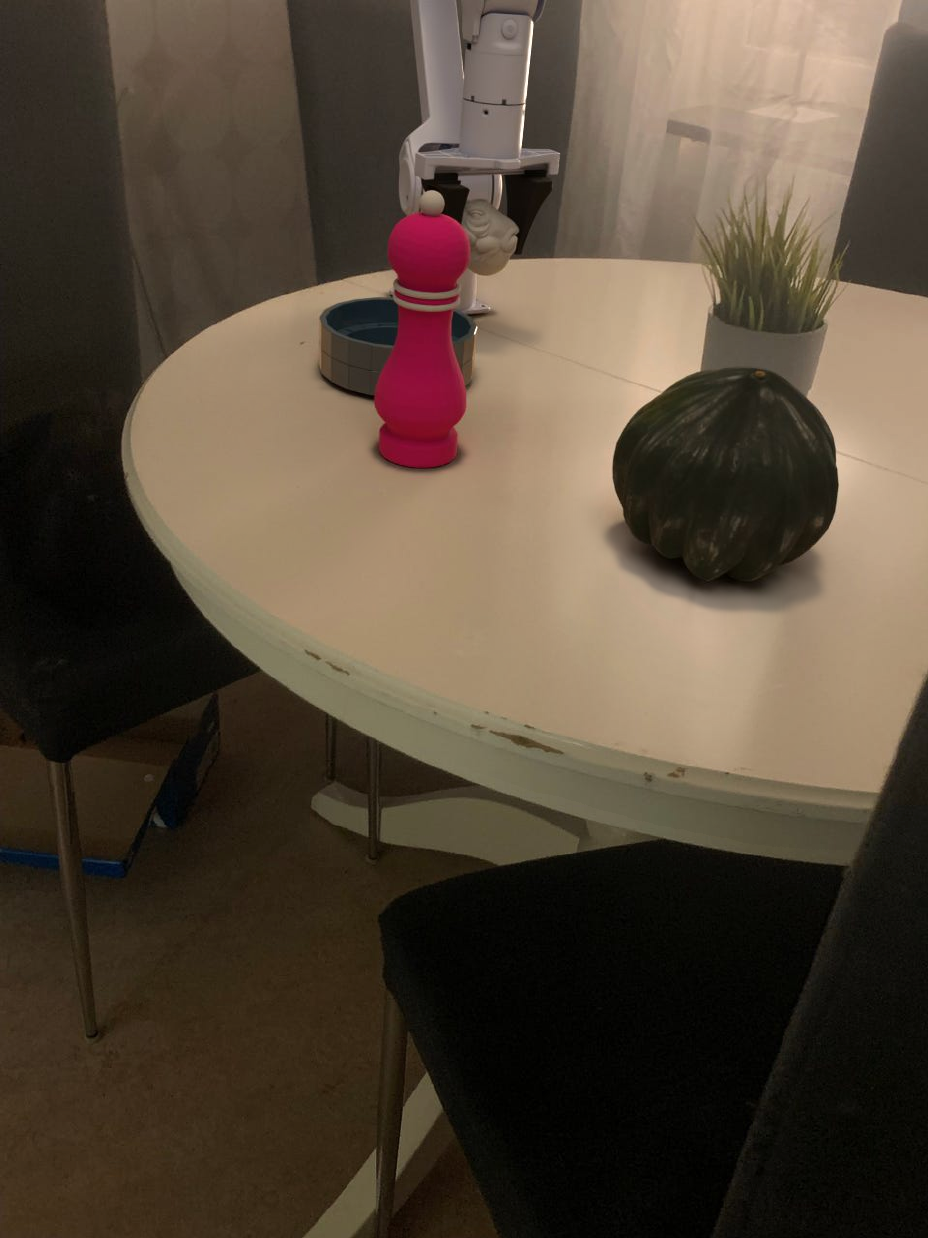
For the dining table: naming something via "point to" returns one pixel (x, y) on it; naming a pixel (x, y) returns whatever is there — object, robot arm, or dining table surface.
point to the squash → (728, 473)
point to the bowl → (376, 341)
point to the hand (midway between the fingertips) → (481, 254)
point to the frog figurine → (488, 237)
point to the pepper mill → (423, 340)
